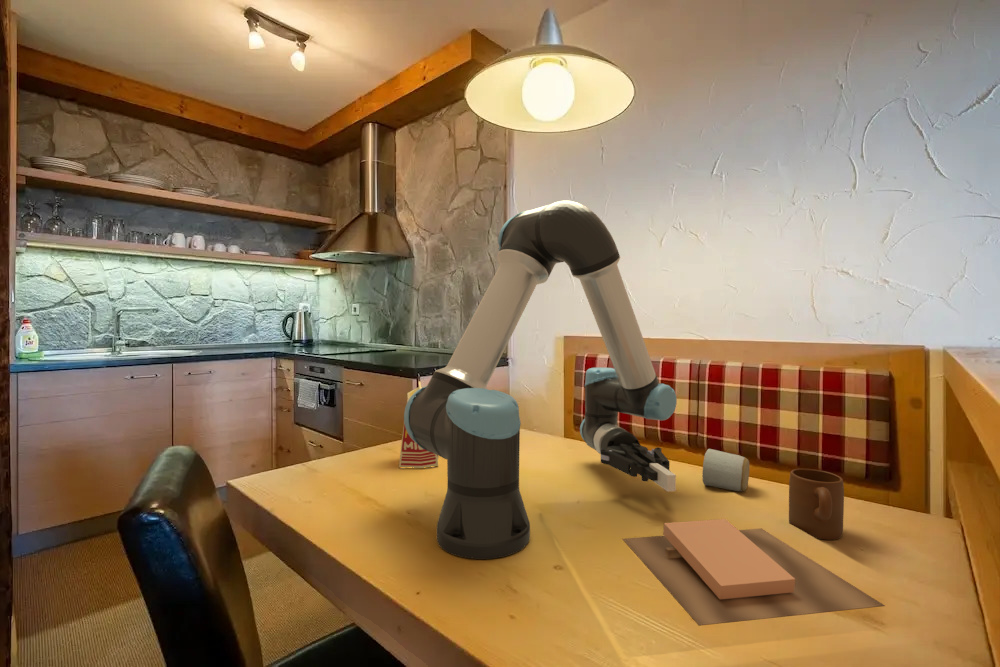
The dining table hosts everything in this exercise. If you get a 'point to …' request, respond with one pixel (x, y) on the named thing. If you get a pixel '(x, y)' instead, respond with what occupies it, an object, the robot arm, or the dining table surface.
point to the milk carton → (415, 449)
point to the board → (701, 603)
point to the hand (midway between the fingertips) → (671, 483)
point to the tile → (727, 559)
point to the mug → (816, 503)
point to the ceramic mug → (725, 470)
